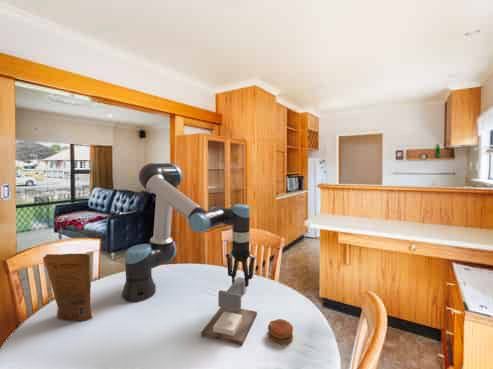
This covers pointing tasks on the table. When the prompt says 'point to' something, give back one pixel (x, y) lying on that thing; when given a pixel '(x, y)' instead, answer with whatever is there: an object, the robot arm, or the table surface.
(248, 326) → the walnut board
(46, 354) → the table surface
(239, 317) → the tile
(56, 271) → the pancake mix bag
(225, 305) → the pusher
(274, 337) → the burger
